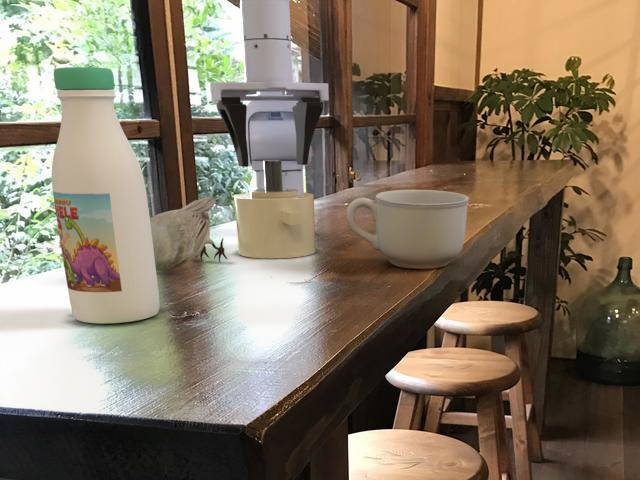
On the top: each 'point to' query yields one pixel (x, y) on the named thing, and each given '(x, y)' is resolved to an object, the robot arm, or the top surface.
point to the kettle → (275, 219)
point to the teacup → (415, 226)
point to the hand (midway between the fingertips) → (273, 165)
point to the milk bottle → (101, 205)
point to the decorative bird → (182, 234)
